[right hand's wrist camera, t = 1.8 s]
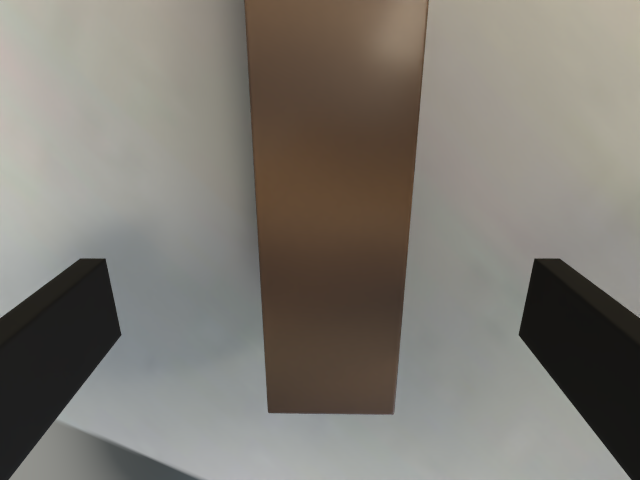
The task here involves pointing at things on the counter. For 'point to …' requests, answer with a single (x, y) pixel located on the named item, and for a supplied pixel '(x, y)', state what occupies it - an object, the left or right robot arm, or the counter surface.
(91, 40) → the counter surface
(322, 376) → the post
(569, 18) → the counter surface
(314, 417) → the counter surface
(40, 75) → the counter surface
